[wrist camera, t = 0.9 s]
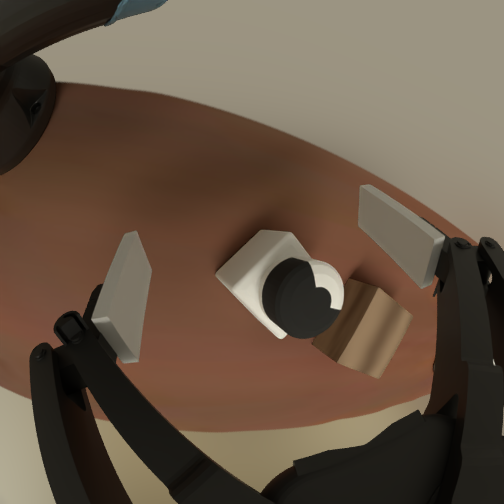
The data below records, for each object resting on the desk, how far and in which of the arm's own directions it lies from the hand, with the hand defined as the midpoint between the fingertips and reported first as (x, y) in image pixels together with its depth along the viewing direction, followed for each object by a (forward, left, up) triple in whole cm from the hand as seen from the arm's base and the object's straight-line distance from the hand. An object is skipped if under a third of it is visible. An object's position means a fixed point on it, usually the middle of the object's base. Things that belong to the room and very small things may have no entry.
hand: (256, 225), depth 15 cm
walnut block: (+22, +9, -14) cm, 28 cm away
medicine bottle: (+7, +1, -14) cm, 16 cm away
